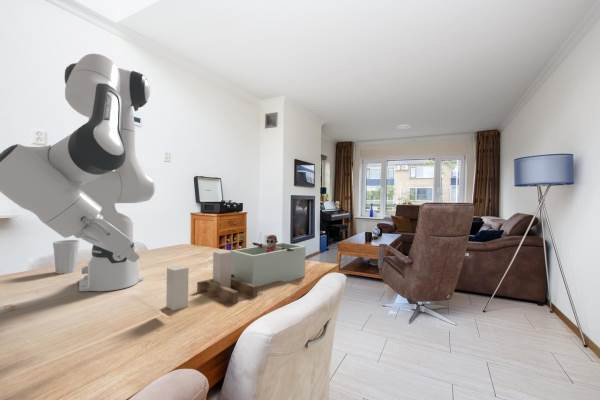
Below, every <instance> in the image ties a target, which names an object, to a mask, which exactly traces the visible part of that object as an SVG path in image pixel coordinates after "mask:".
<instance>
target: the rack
mask: <svg viewBox="0 0 600 400" xmlns="http://www.w3.org/2000/svg"><path fill="white" fill-rule="evenodd" d="M196 284H197V285H196V288H197V289H196V291H197V293H199V294H200V295H202V296H205V297H207V298H209V299H211V300H213V301H215V302H217V303H220V304H222V305H224V306H226V307H228V306H231V305H234V304H237V303H240V302H244V301H246V300H250V299H253V298H256V297H259V296H262V295H263V293H261V292H259V291H258V287H257V286H256V285H253V284H250V283H247V282H245V281H242V280H239V279H236V278H235V275H234V274H231V289H230V288H228V287H225V286H223V285H220V284H218V283H216V282H213V278H209V279H205V280H200V281H197V283H196Z"/></svg>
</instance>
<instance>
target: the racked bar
mask: <svg viewBox="0 0 600 400" xmlns="http://www.w3.org/2000/svg"><path fill="white" fill-rule="evenodd" d="M212 255H213V257H212V259H213V260H212V261H213V262H212V264H213V265H212V279H213V282H216V283H218V284H220V285H223V286H225V287H228V288H230V289H231V251H228V250H217V251H213V253H212Z"/></svg>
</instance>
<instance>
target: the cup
mask: <svg viewBox="0 0 600 400" xmlns="http://www.w3.org/2000/svg"><path fill="white" fill-rule="evenodd" d="M79 245H80V240H79V239H66V240H65V239H64V240H57V241H56V240H55V241H53V242H52V246H53V247H52V249H53V255H54V256H53V257H54V266H55V274H56V273H58V274H57V275H64V274H63V273H67V274H71V273H70V272H72V273H75V272H77V263H78V255H79ZM74 271H75V272H74Z"/></svg>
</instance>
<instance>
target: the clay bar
mask: <svg viewBox="0 0 600 400" xmlns="http://www.w3.org/2000/svg"><path fill="white" fill-rule="evenodd" d="M189 271H190V269H189V267H187V266H185V265H183V264H181V265H179V264H178V265H174V266H169V267H166V299H165V301H166V305H165V306H166V307H165V308H168V309H169V310H171V311H173V312H174V311H177V310H178V311H179V310H181V309H185V308H187V307H189Z"/></svg>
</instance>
